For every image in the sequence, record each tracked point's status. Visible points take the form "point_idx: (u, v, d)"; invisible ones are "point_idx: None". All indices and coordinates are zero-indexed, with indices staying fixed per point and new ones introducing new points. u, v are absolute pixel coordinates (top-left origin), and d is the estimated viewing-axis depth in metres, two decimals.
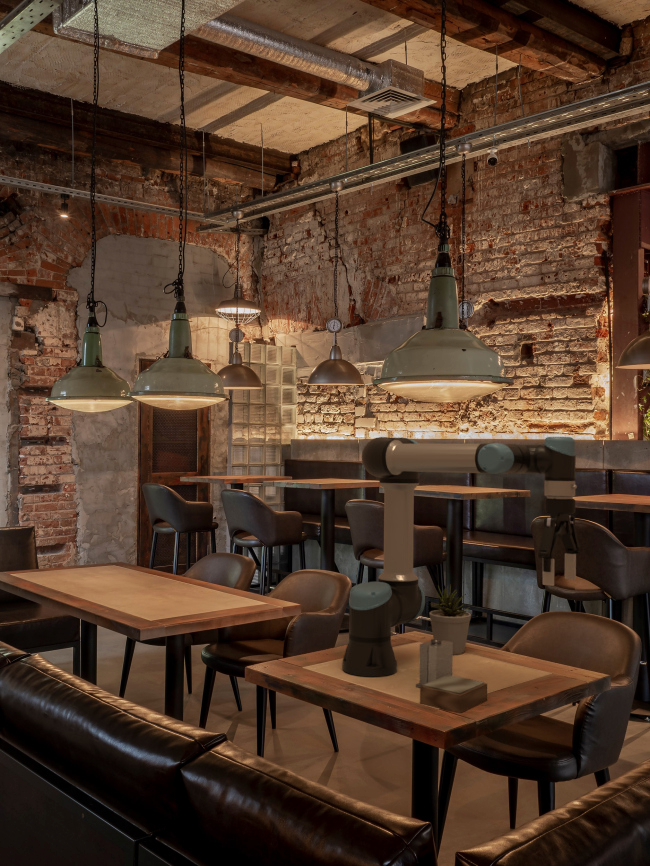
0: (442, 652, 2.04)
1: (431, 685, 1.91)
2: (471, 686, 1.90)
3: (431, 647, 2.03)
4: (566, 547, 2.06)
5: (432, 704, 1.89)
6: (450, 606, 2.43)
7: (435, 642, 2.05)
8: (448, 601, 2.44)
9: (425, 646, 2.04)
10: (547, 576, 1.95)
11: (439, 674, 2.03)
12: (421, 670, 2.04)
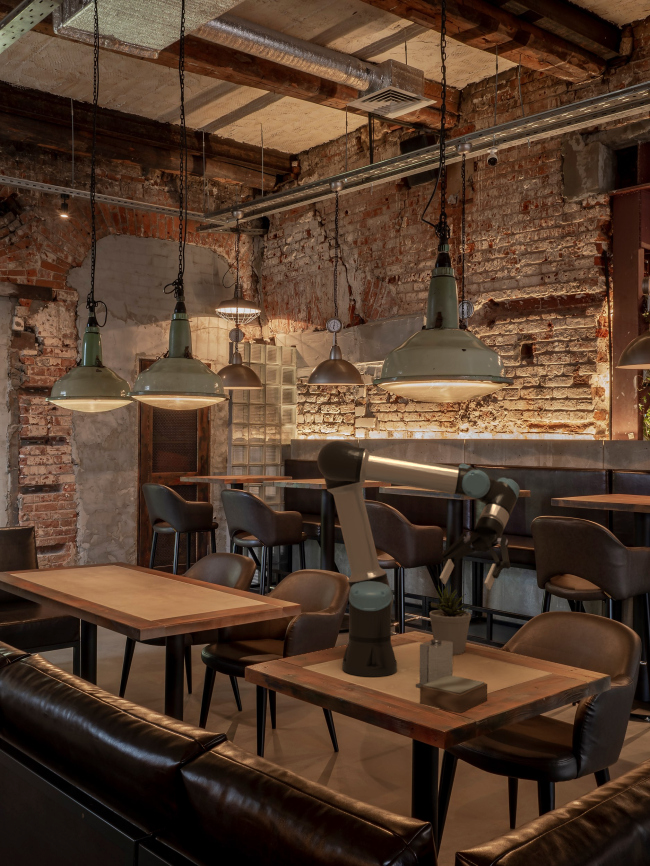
0: (442, 652, 2.04)
1: (431, 685, 1.91)
2: (471, 686, 1.90)
3: (431, 647, 2.03)
4: (454, 556, 2.22)
5: (432, 704, 1.89)
6: (450, 606, 2.43)
7: (435, 642, 2.05)
8: (448, 601, 2.44)
9: (425, 646, 2.04)
10: (491, 579, 2.10)
11: (439, 674, 2.03)
12: (421, 670, 2.04)
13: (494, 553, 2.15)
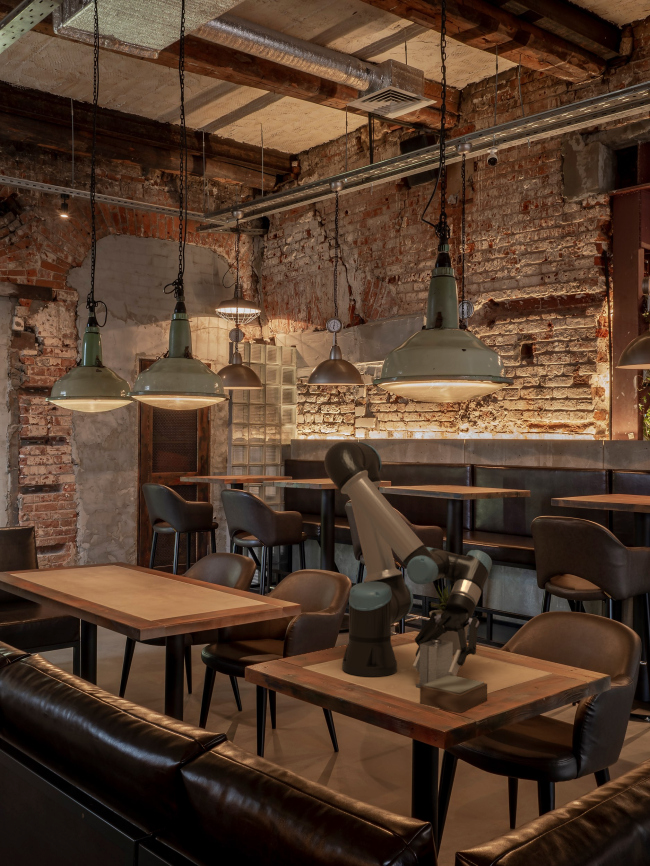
0: (442, 652, 2.04)
1: (431, 685, 1.91)
2: (471, 686, 1.90)
3: (431, 647, 2.03)
4: (428, 639, 2.11)
5: (432, 704, 1.89)
6: None
7: (435, 642, 2.05)
8: None
9: (425, 646, 2.04)
10: (456, 667, 2.01)
11: (439, 674, 2.03)
12: (421, 670, 2.04)
13: (461, 637, 2.06)
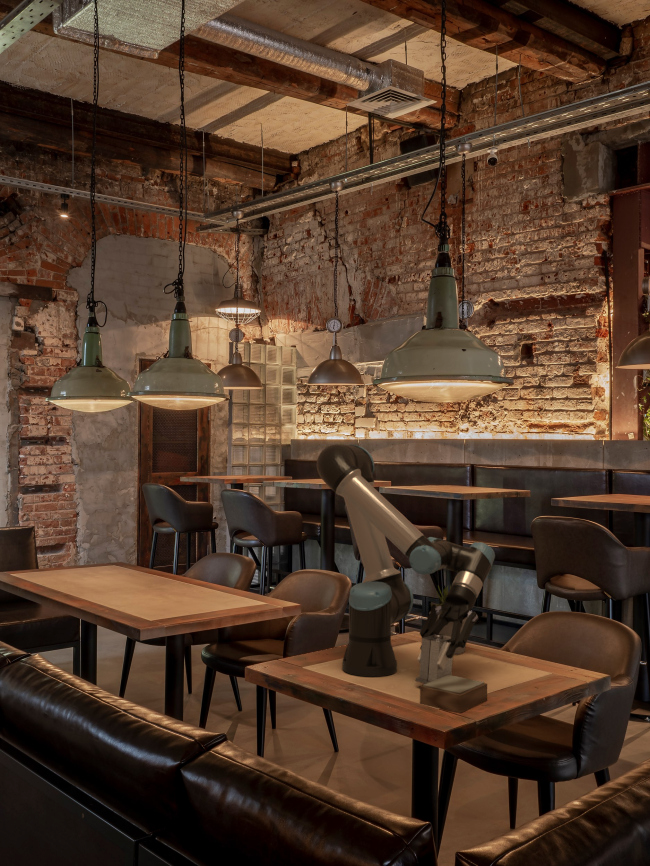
0: (443, 647, 2.03)
1: (431, 685, 1.91)
2: (471, 686, 1.90)
3: (434, 642, 2.02)
4: (433, 632, 2.10)
5: (432, 704, 1.89)
6: None
7: (437, 637, 2.05)
8: None
9: (427, 640, 2.03)
10: (444, 659, 2.02)
11: (439, 669, 2.02)
12: (422, 664, 2.04)
13: (455, 629, 2.07)
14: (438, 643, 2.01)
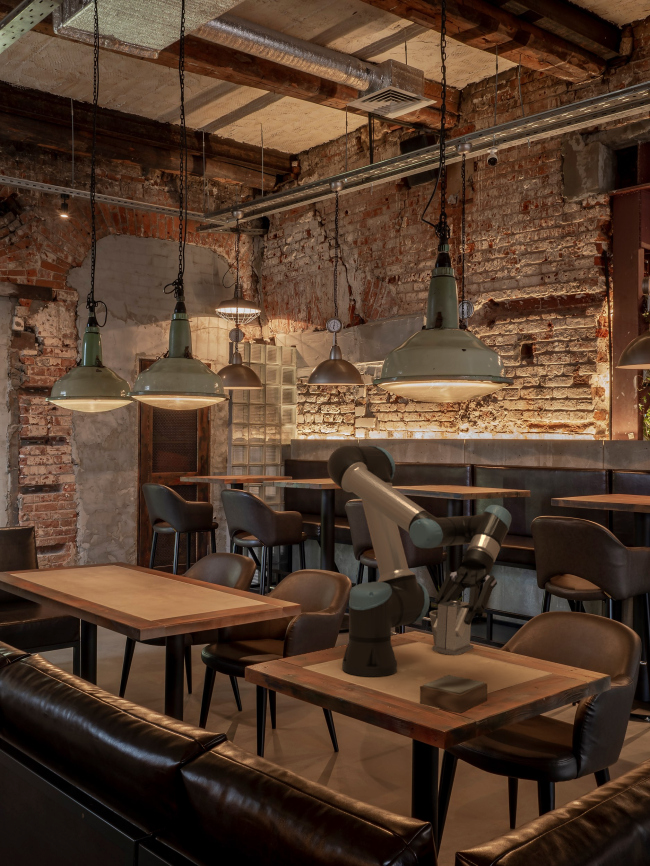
0: (461, 613, 1.91)
1: (431, 685, 1.91)
2: (471, 686, 1.90)
3: (451, 607, 1.89)
4: (449, 599, 1.97)
5: (432, 704, 1.89)
6: None
7: (454, 603, 1.92)
8: None
9: (444, 606, 1.90)
10: (462, 626, 1.90)
11: (457, 636, 1.89)
12: (439, 632, 1.91)
13: (472, 594, 1.94)
14: (456, 608, 1.89)
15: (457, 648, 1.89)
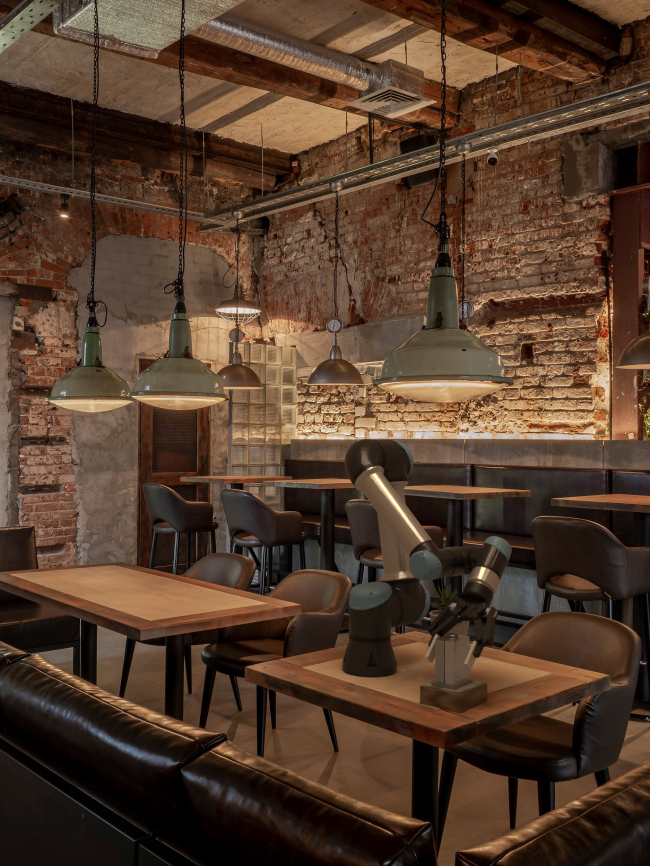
0: (459, 647, 1.90)
1: (431, 685, 1.91)
2: (471, 686, 1.90)
3: (448, 642, 1.89)
4: (442, 629, 1.98)
5: (432, 704, 1.89)
6: None
7: (451, 637, 1.92)
8: None
9: (441, 641, 1.90)
10: (471, 659, 1.88)
11: (456, 671, 1.89)
12: (437, 667, 1.91)
13: (478, 627, 1.93)
14: (453, 643, 1.88)
15: (456, 683, 1.89)
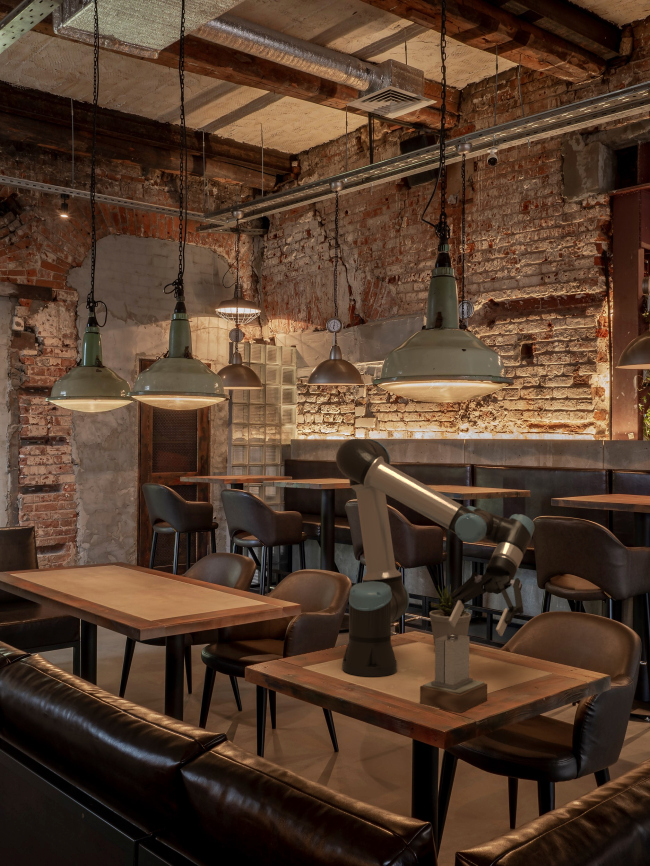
0: (459, 647, 1.90)
1: (431, 685, 1.91)
2: (471, 686, 1.90)
3: (448, 642, 1.89)
4: (464, 597, 2.11)
5: (432, 704, 1.89)
6: (450, 606, 2.43)
7: (451, 637, 1.92)
8: (448, 601, 2.44)
9: (441, 641, 1.90)
10: (503, 625, 1.99)
11: (456, 671, 1.89)
12: (437, 667, 1.91)
13: (507, 597, 2.04)
14: (453, 643, 1.88)
15: (456, 683, 1.89)
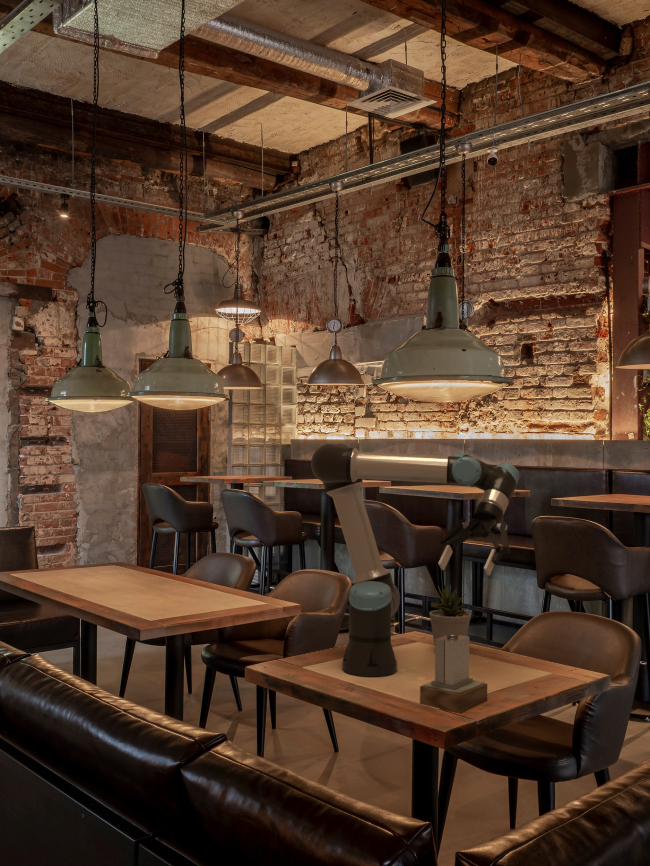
0: (459, 647, 1.90)
1: (431, 685, 1.91)
2: (471, 686, 1.90)
3: (448, 642, 1.89)
4: (453, 542, 2.18)
5: (432, 704, 1.89)
6: (450, 606, 2.43)
7: (451, 637, 1.92)
8: (448, 601, 2.44)
9: (441, 641, 1.90)
10: (490, 565, 2.06)
11: (456, 671, 1.89)
12: (437, 667, 1.91)
13: (493, 538, 2.11)
14: (453, 643, 1.88)
15: (456, 683, 1.89)
